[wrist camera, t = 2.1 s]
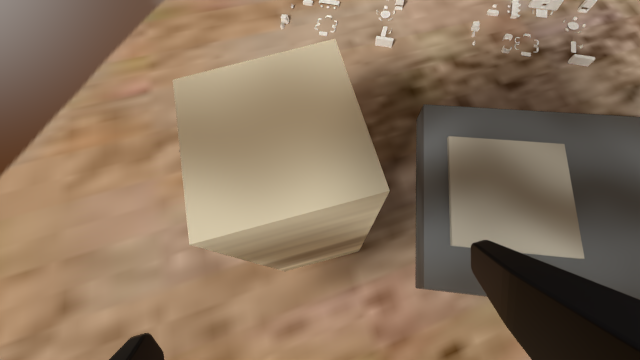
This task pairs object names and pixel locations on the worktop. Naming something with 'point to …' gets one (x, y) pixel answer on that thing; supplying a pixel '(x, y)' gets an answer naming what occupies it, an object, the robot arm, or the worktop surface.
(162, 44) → the worktop surface
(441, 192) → the slate plinth
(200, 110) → the birch pillar
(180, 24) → the worktop surface
